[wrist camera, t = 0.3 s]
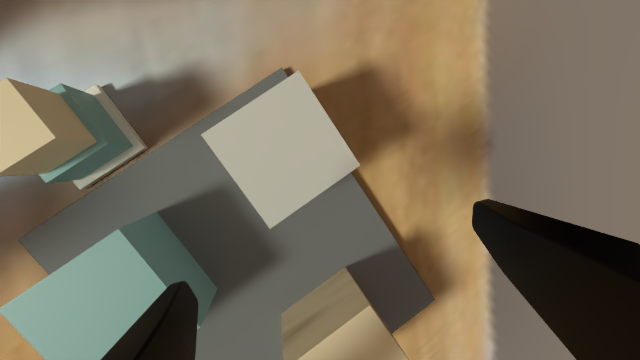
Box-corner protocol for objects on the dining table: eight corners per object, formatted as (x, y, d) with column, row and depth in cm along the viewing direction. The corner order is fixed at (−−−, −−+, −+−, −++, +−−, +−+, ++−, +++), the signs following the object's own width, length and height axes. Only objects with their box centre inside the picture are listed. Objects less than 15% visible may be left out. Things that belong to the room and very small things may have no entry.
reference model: (148, 148, 20) (85, 142, 14) (85, 188, 20) (-11, 204, 13) (100, 86, 20) (10, 49, 13) (34, 127, 19) (-95, 111, 13)
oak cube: (385, 324, 23) (422, 379, 18) (324, 370, 23) (342, 443, 17) (345, 266, 23) (369, 305, 17) (281, 313, 22) (283, 370, 16)
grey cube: (337, 163, 22) (360, 165, 16) (271, 209, 21) (270, 229, 15) (292, 95, 21) (298, 70, 15) (222, 141, 21) (200, 134, 15)
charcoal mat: (431, 296, 25) (435, 299, 24) (222, 457, 23) (220, 465, 22) (281, 70, 21) (281, 67, 21) (25, 237, 20) (17, 239, 19)
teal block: (217, 288, 21) (200, 327, 16) (134, 347, 21) (90, 406, 16) (156, 211, 20) (118, 228, 15) (67, 271, 20) (-3, 309, 15)
